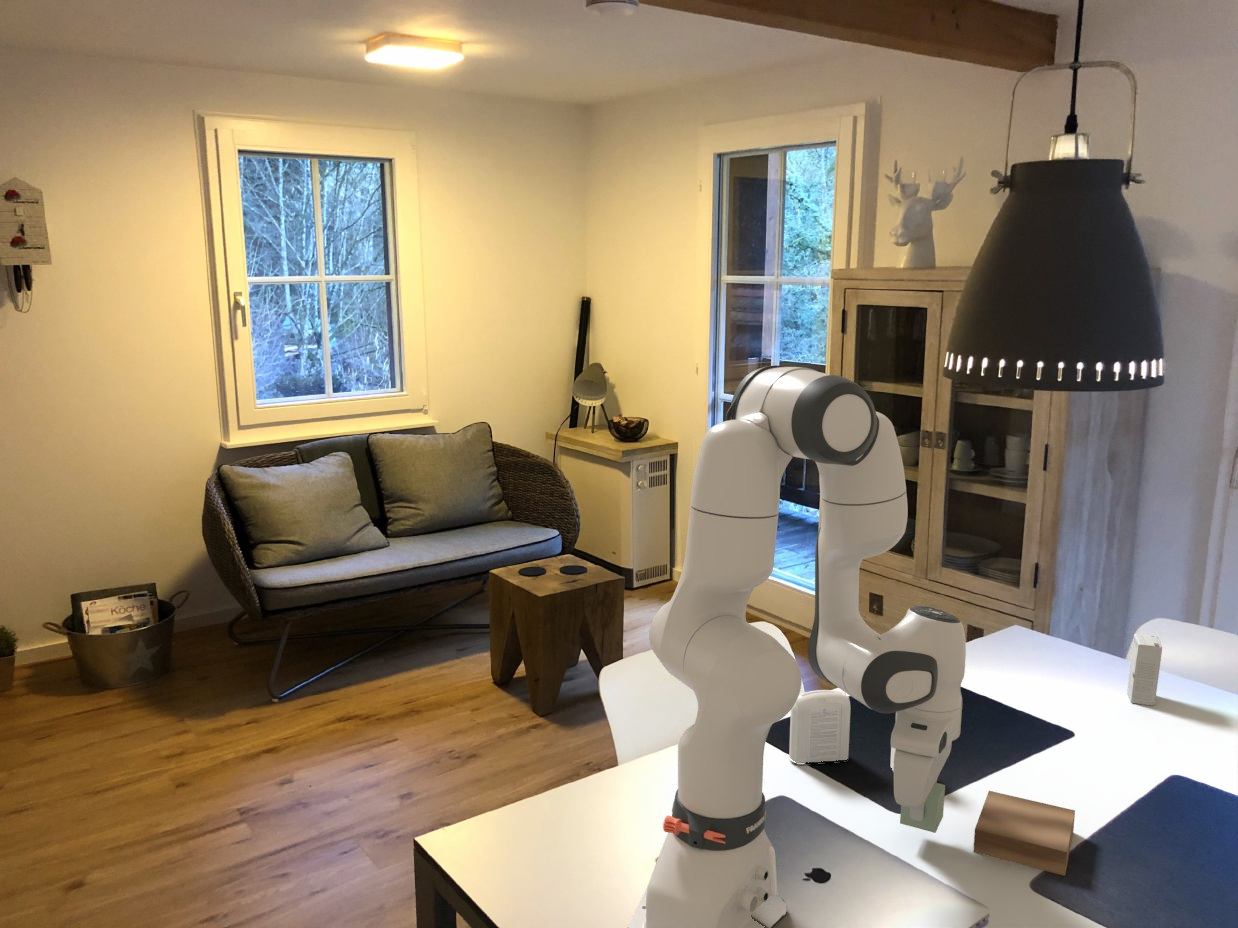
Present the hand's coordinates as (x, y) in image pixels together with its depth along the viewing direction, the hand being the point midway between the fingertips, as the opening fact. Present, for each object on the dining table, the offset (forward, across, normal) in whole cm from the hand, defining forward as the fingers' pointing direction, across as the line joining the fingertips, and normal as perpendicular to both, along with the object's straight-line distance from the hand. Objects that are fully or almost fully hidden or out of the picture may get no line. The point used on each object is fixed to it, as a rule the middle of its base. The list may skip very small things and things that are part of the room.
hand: (922, 807), depth 143 cm
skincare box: (+4, -69, +26) cm, 74 cm away
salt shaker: (+5, -19, -7) cm, 20 cm away
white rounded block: (+5, -16, -21) cm, 27 cm away
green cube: (+2, 0, 0) cm, 2 cm away
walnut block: (+5, -7, +13) cm, 16 cm away
